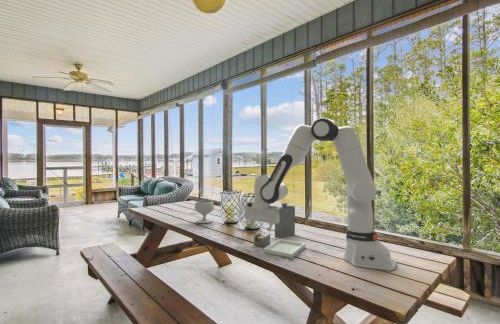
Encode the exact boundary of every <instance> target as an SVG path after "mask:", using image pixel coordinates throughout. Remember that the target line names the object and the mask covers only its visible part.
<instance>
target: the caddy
mask: <svg viewBox="0 0 500 324" xmlns="http://www.w3.org/2000/svg"><path fill="white" fill-rule="evenodd" d="M259 236H262V232H258V233H256V234H254V235H253V239H254V240H253V243H254V245H253V246H257V247H262V248H265V247H267V246H269V245H270V244H271V233H269V234H266V235H264V236H265V237H264V243H263V242H257V237H259Z"/></svg>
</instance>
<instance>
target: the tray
mask: <svg viewBox="0 0 500 324" xmlns="http://www.w3.org/2000/svg"><path fill="white" fill-rule="evenodd" d="M305 249H306V242H299V241H295V240H289V239H283V238H277V240H275V241H274V242H271V243H270V244H269V245H267V246H266V247H263V253H265V254H270V255H274V256H278V257H283V258H287V260H293V259H294V258H295V257H297V255H300V253H301V252H302V251H303V250H305Z"/></svg>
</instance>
